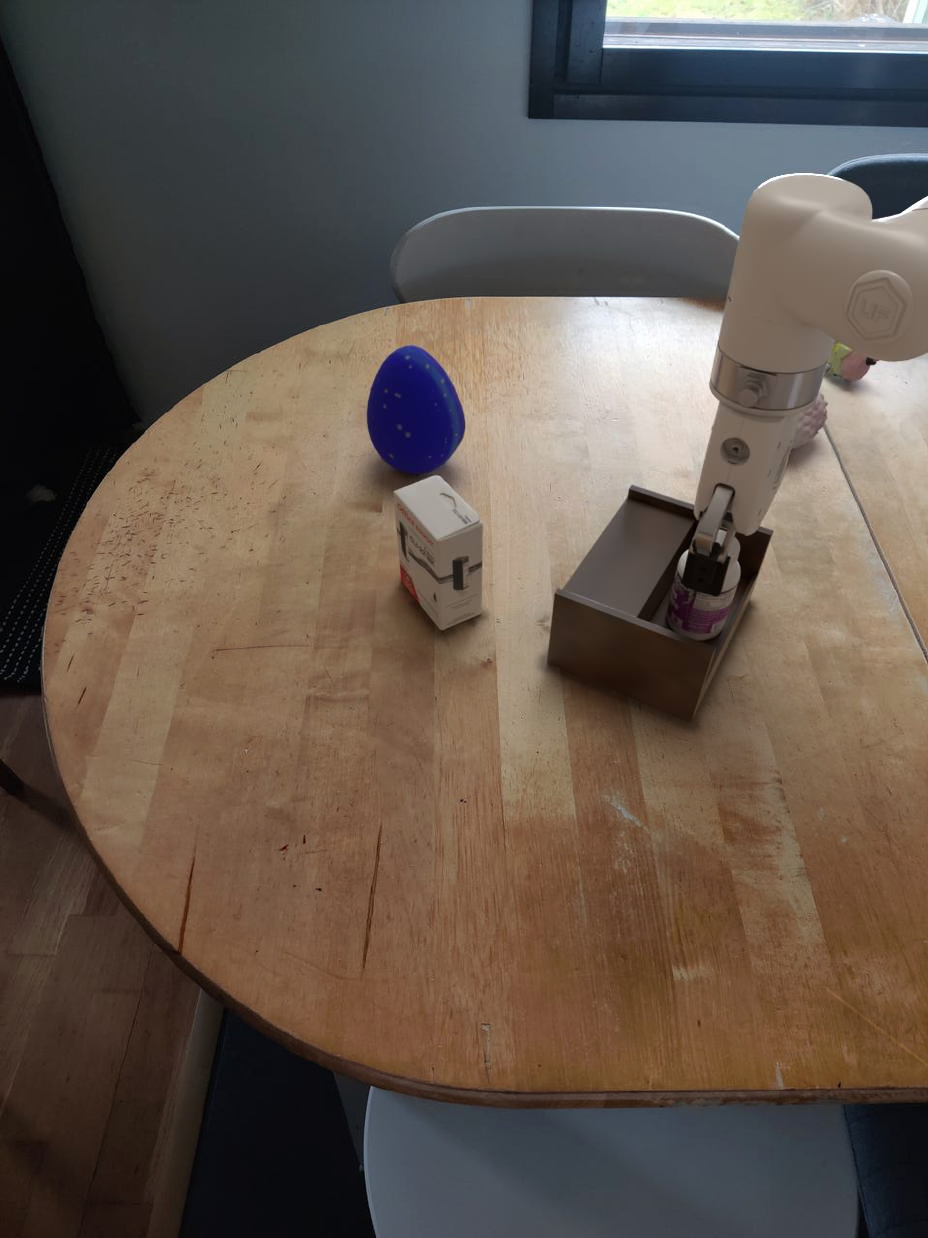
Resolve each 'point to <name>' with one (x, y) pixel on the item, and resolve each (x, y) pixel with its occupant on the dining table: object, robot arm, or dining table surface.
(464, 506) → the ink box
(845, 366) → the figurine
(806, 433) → the decorative item
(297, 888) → the dining table surface
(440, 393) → the ornament
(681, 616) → the pill bottle
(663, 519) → the brown open box
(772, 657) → the dining table surface
